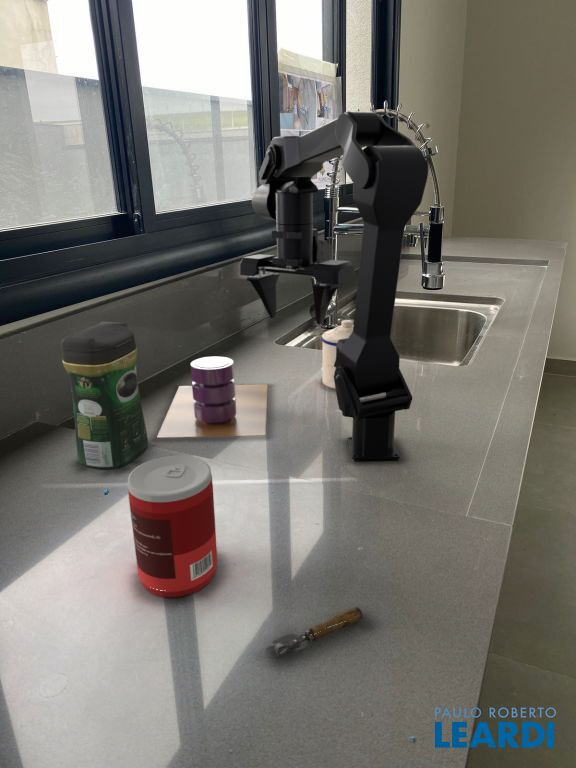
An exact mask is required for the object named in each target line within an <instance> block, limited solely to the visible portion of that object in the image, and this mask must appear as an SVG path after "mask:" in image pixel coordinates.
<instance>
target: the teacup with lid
mask: <svg viewBox="0 0 576 768" xmlns="http://www.w3.org/2000/svg"><path fill="white" fill-rule="evenodd" d="M353 326H354V321H353V320H350V319H343V320H342V321H341V325H337V326H336V327H333V328H332V329H328V330H326V331H325V332H323V333H322V335H321V337H320V338H321V339H320V340H321V341H322V384H323V385H324V386H326V387H328V388H331V389H334V390H336V388H335V382H334V372H335V370H336V367H334V363H335V360H336V345H337V343H338V340H339V339H345V338H349V336H350V335H351V333H352V332H353Z"/></svg>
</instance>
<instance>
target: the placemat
mask: <svg viewBox="0 0 576 768" xmlns="http://www.w3.org/2000/svg"><path fill="white" fill-rule="evenodd" d="M268 385H269V384H268V383H264V384H263V383H259V384H235V398H236V415H235V416H234V417H233V418H231V419H229V420H228V421H226V422H222V423H216V424H211V423H205V422H203V421H200V420H198V419H196V418H195V416H194V406H193V400H194V399H193V393H192V385H179V386H178V388H177V390H176V392H175V395H174V397H173V399H172V402H171V403H170V406H169V408H168V410H167V413H166V415H165V418H164V420H163V422H162V424H161V426H160V429H159V431H158V433H157V436H156V438H157V439H169V438H173V439H174V438H175V439H176V438H215V437H216V438H217V437H219V438H220V437H260V436H261V437H263V436H264V437H265V436H266V433H267V415H268V414H267V411H268V391H269V390H268V389H269V387H268Z"/></svg>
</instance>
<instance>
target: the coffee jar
mask: <svg viewBox="0 0 576 768" xmlns="http://www.w3.org/2000/svg"><path fill="white" fill-rule="evenodd" d="M60 348H61V358H62V366H63V367H64V369H65V371H66V373H67V376H68V379H69V383H70V389H71V396H72V408H73V417H74V418H73V419H74V430H75V443H76V444H75V445H76V455H77V460H78V462H79V463H80V464H81V465H83V466H84V467H87V468H90V469H93V470H94V469H95V470H113V469H120V468H123V467H125V466H126V465H129V464H130V463H131V462H133V461H134V460H136V459H137V458H138V457H139V456H140V455H141V454H142V453H143V452H144V451H145V450H146V449H147V447H148V445H149V439H148V432H147V427H146V420H145V417H144V412H143V406H142V399H141V393H140V387H139V380H138V372H137V356H138V355H137V354H138V348H137V343H136V338H135V334H134V331H133V329H132V328H131V327H130V326H129V325H128V324H127V323H125V322H114V321H101V322H100V323H98V324H96V325H93V326H90V327H87V328H85V329H83V330H80V331H77V332H75V333H71V334H69V335H66V336H65V337H64V338H63V339H62V340H61V341H60Z"/></svg>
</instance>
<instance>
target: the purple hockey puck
mask: <svg viewBox="0 0 576 768" xmlns="http://www.w3.org/2000/svg"><path fill="white" fill-rule="evenodd" d="M189 366H190V377H191V381H192V382H193V381H194V382H195V383H198V384H200V385H203V386H220V385H224V384H226V383H228V382H229V381H231V380H232V379H234V380H235V376H236V375H235V374H236V373H235V361H234V359H232V358H230V357H226V356H216V355H214V356H213V355H212V356H203V357H199V358H197V359H194V360H192V361H190V365H189Z"/></svg>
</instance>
